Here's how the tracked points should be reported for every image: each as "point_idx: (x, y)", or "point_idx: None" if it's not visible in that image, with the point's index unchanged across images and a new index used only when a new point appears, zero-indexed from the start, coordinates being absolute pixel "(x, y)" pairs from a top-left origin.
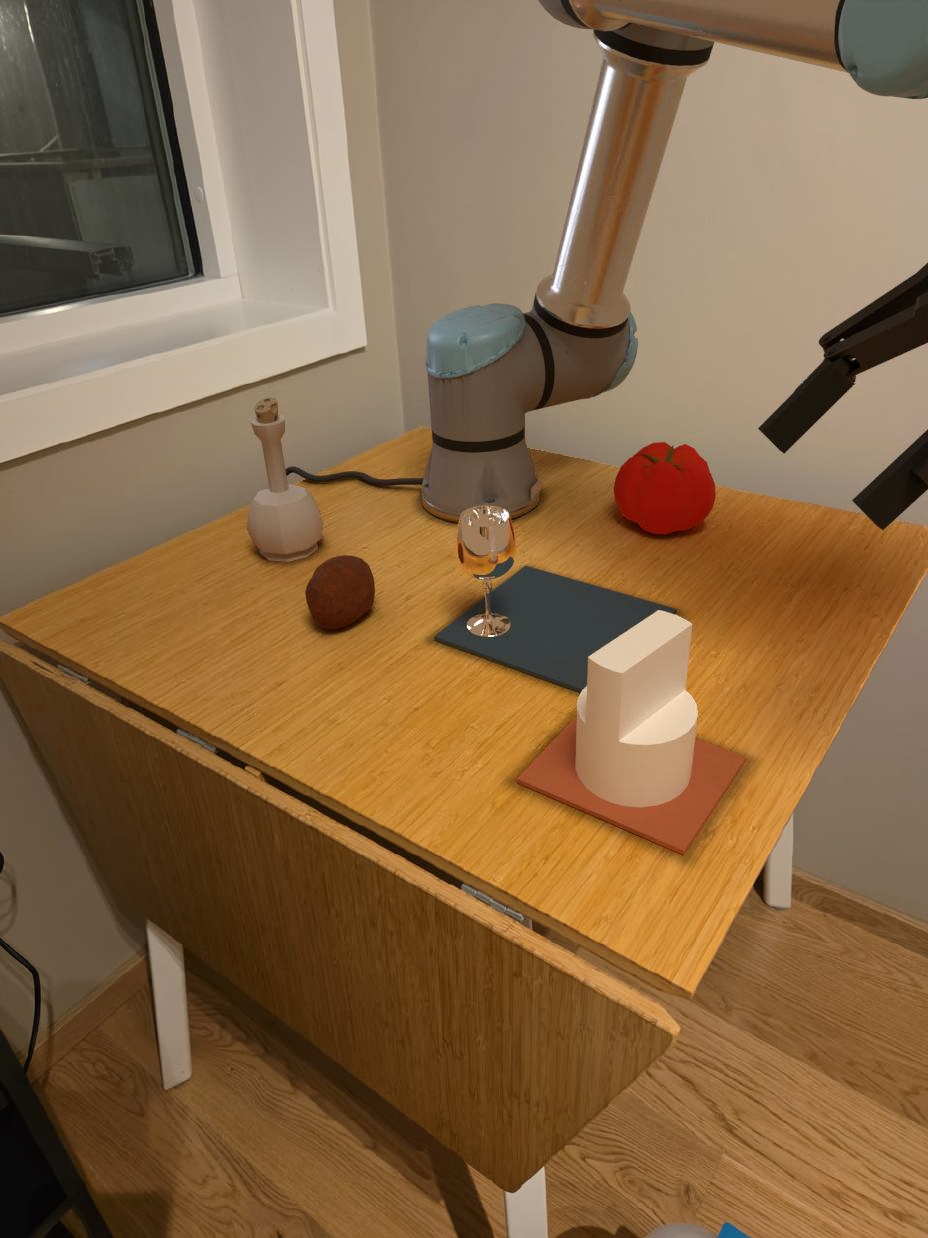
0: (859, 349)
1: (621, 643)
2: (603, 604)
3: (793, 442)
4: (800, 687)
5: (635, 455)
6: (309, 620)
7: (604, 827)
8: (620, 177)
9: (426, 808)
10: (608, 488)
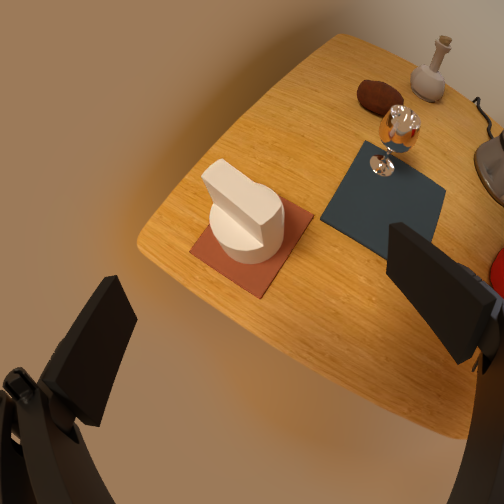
0: (499, 365)
1: (235, 176)
2: (416, 231)
3: (394, 281)
4: (335, 349)
5: None
6: None
7: None
8: None
9: (229, 146)
10: None
